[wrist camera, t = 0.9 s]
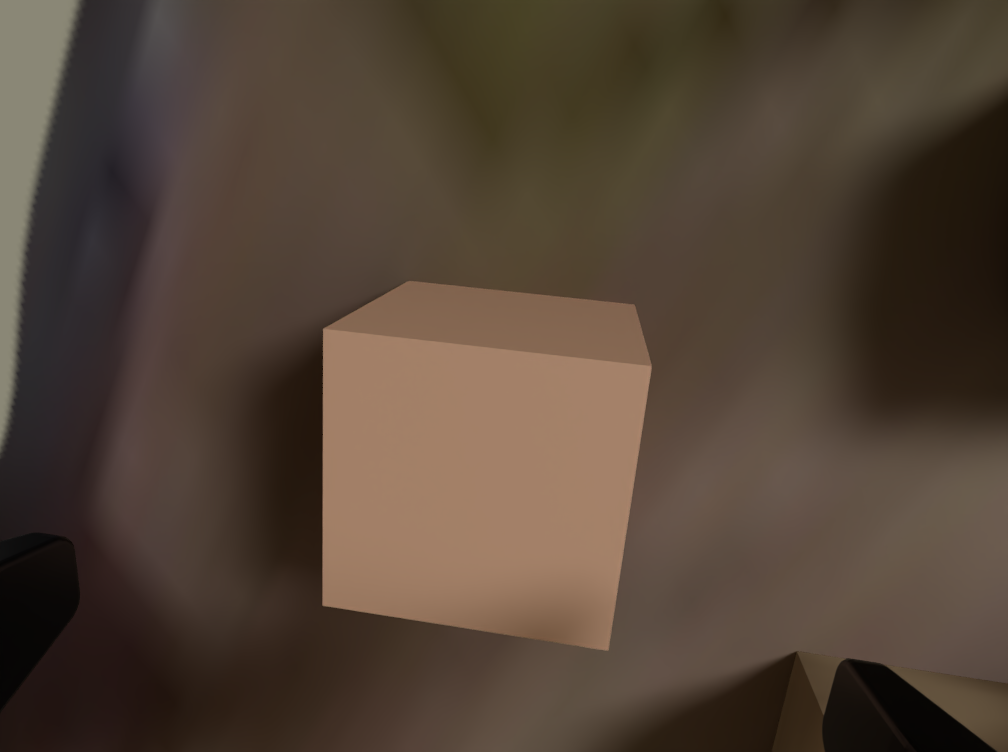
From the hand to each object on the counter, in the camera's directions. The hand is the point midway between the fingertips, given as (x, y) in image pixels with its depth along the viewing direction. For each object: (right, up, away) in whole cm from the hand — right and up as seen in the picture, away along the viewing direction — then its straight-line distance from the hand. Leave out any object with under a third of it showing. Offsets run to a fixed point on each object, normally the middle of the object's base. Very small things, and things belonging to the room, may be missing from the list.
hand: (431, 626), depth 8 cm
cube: (+1, +2, +8) cm, 8 cm away
